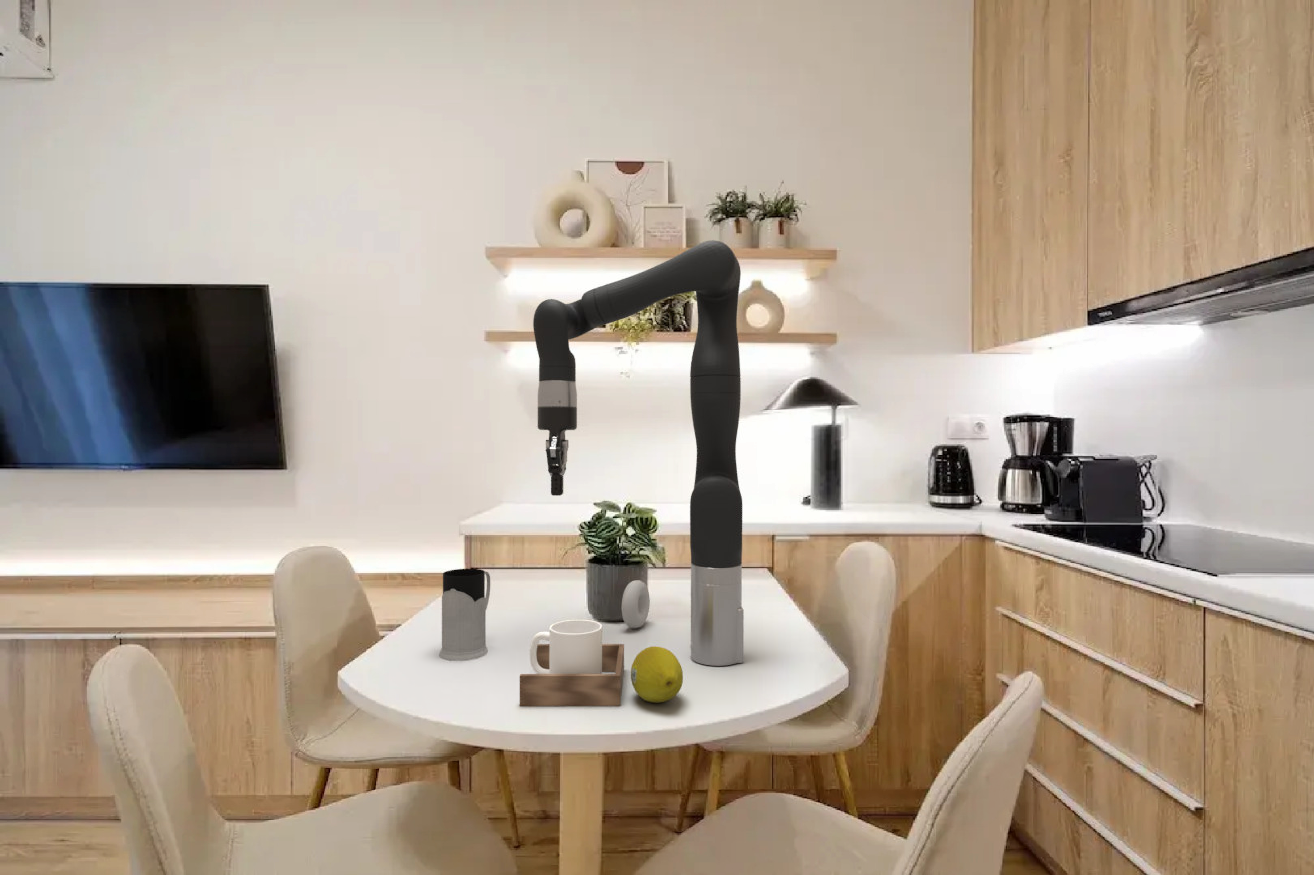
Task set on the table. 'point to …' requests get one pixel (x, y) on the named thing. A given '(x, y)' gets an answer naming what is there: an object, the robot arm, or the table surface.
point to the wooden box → (575, 682)
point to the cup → (571, 648)
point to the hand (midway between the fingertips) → (557, 495)
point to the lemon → (656, 674)
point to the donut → (635, 604)
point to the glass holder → (464, 614)
